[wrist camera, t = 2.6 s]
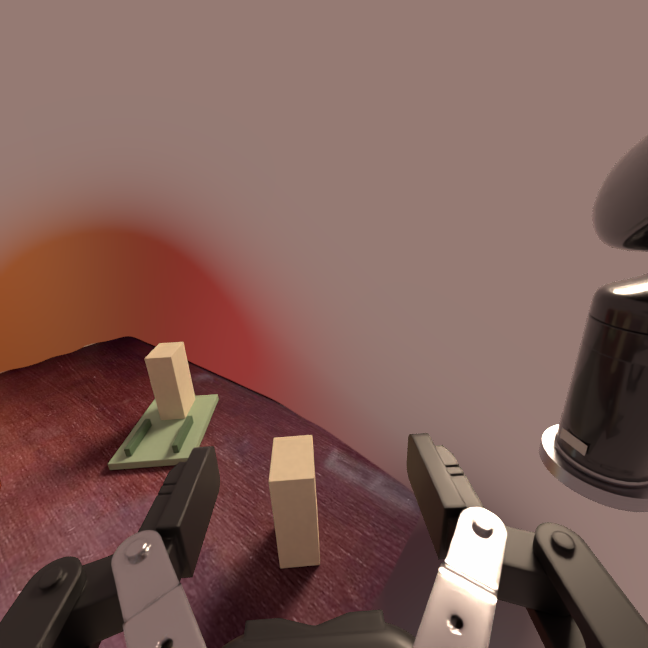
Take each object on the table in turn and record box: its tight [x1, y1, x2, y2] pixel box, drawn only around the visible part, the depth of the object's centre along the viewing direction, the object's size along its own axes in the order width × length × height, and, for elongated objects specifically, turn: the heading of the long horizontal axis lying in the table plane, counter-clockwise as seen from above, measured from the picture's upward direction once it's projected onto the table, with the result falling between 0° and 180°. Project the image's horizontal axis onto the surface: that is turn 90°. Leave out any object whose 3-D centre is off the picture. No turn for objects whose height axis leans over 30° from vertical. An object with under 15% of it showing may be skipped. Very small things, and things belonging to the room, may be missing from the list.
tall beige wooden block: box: [269, 435, 320, 568], centre depth 29 cm, size 4×5×10 cm
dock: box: [108, 342, 219, 470], centre depth 45 cm, size 10×14×11 cm
